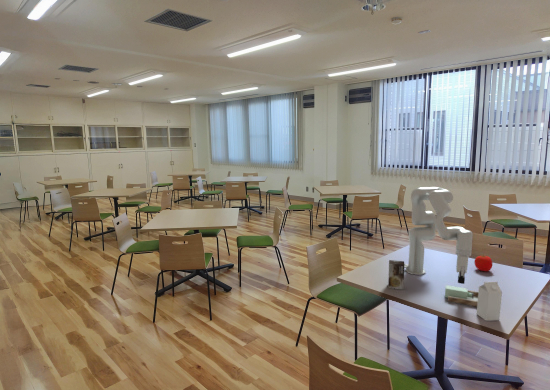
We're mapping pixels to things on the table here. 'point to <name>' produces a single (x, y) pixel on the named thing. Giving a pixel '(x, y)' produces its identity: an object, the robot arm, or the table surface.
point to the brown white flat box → (465, 300)
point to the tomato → (483, 263)
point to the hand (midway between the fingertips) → (461, 282)
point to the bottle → (457, 292)
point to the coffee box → (396, 274)
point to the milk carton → (489, 301)
